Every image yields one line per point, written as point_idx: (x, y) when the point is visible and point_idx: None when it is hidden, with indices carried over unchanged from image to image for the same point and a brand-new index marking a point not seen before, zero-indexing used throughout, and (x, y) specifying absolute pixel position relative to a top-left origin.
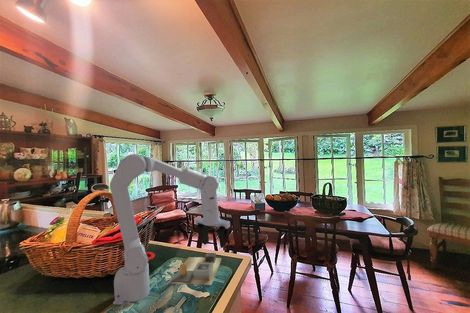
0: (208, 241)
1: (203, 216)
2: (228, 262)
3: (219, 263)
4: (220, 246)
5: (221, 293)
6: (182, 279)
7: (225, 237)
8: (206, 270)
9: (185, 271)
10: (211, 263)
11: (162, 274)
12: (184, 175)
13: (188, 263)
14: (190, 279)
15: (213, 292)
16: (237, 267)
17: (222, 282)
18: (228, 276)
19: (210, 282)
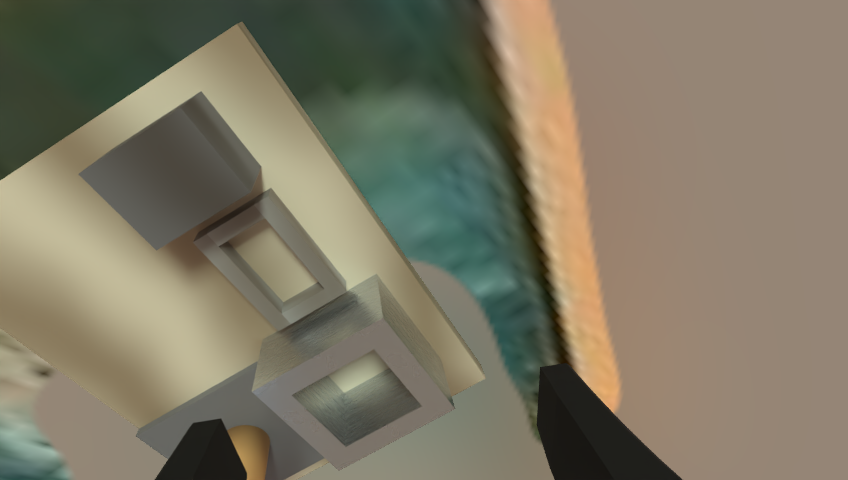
0: (220, 435)
1: None
2: (343, 16)
3: (319, 146)
4: (543, 445)
5: (564, 358)
6: (283, 463)
7: (650, 478)
8: (424, 412)
9: (264, 473)
10: (376, 330)
11: (55, 474)
12: None
13: (61, 324)
14: None
15: (517, 378)
16: (493, 49)
17: (506, 289)
18: (502, 214)
19: (462, 368)
